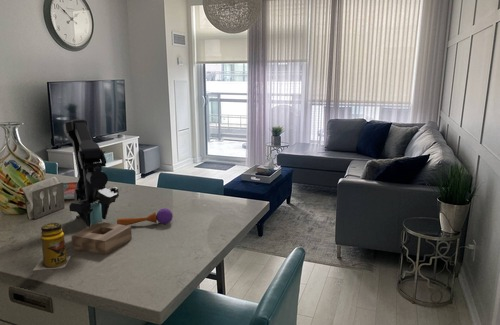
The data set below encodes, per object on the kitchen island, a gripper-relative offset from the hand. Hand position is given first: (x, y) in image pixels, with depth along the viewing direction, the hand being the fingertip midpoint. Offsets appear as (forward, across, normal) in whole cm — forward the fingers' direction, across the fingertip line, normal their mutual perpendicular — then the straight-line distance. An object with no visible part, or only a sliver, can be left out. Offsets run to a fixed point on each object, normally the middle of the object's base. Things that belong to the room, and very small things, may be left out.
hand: (96, 222), depth 138 cm
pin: (+2, 0, 0) cm, 2 cm away
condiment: (+2, -27, -7) cm, 28 cm away
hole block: (+2, -10, -12) cm, 16 cm away
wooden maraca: (+2, +9, -15) cm, 17 cm away
